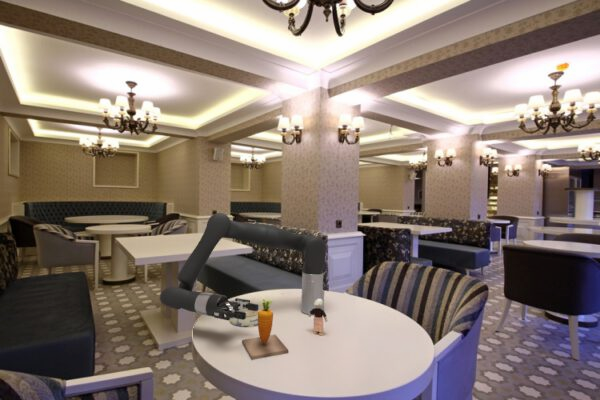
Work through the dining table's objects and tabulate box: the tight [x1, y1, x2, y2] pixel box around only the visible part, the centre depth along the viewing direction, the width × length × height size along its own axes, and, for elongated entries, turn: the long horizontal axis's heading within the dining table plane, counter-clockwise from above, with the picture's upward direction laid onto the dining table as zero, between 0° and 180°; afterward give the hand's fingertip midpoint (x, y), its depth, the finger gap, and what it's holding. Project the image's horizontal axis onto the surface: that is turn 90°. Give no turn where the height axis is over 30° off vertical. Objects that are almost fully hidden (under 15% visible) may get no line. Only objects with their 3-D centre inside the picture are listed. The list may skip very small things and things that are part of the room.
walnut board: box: [241, 334, 289, 361], centre depth 102 cm, size 12×12×1 cm
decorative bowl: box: [228, 310, 259, 328], centre depth 126 cm, size 15×4×15 cm
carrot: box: [257, 298, 274, 345], centre depth 103 cm, size 5×5×15 cm
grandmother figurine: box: [308, 299, 329, 336], centre depth 115 cm, size 8×4×13 cm, turn 71°
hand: (251, 311), depth 104 cm, fingers open, 8 cm apart
